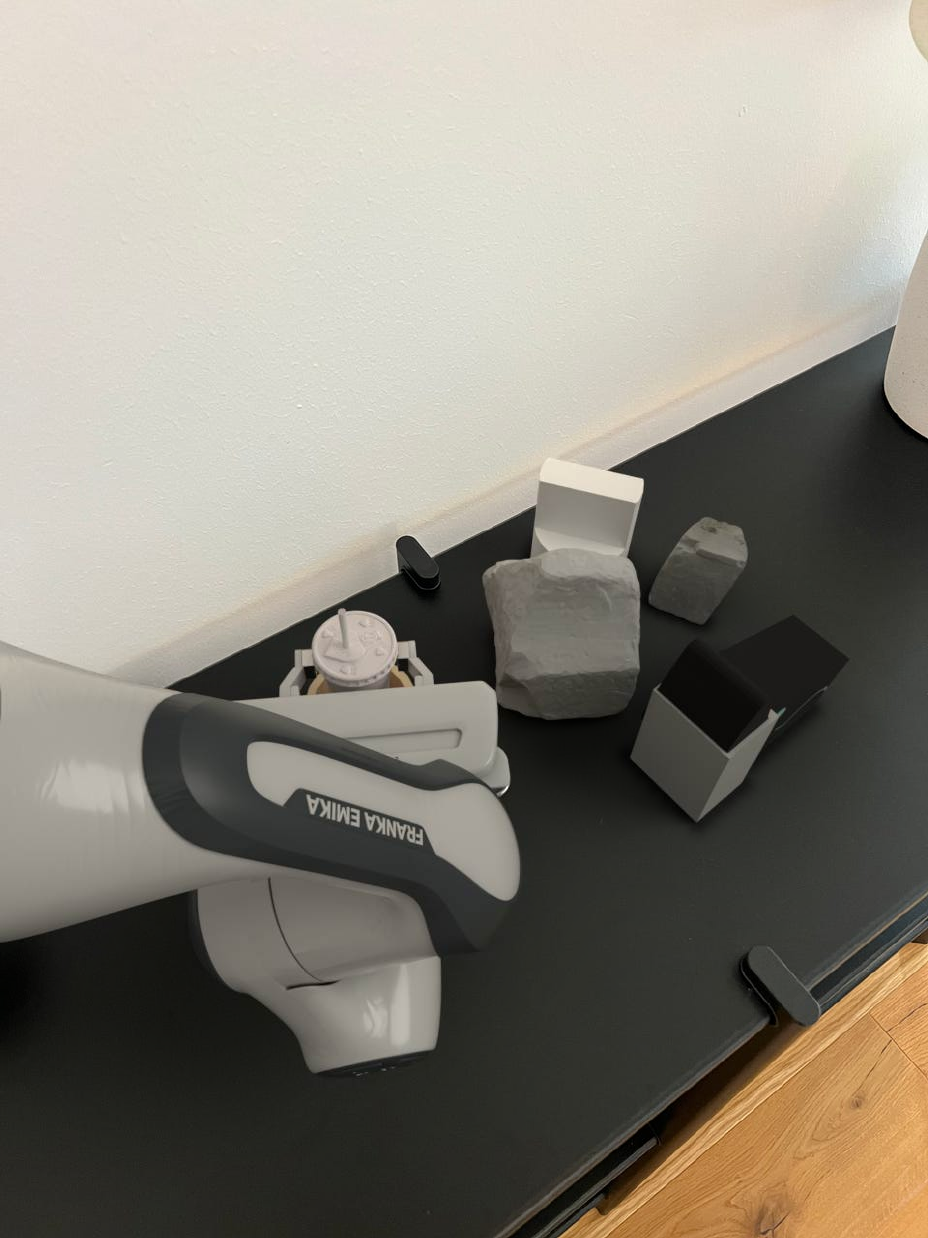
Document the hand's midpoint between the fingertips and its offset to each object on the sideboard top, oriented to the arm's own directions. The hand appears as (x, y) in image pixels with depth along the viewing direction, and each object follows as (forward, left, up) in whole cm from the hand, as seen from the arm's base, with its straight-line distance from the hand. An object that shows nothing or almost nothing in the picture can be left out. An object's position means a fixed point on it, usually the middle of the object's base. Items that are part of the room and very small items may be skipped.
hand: (355, 649), depth 72 cm
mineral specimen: (+27, +19, -11) cm, 35 cm away
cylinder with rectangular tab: (+16, +20, -11) cm, 28 cm away
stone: (+15, +8, -11) cm, 21 cm away
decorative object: (+31, +5, -11) cm, 34 cm away
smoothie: (0, -1, -8) cm, 8 cm away
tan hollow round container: (0, -1, -11) cm, 11 cm away
